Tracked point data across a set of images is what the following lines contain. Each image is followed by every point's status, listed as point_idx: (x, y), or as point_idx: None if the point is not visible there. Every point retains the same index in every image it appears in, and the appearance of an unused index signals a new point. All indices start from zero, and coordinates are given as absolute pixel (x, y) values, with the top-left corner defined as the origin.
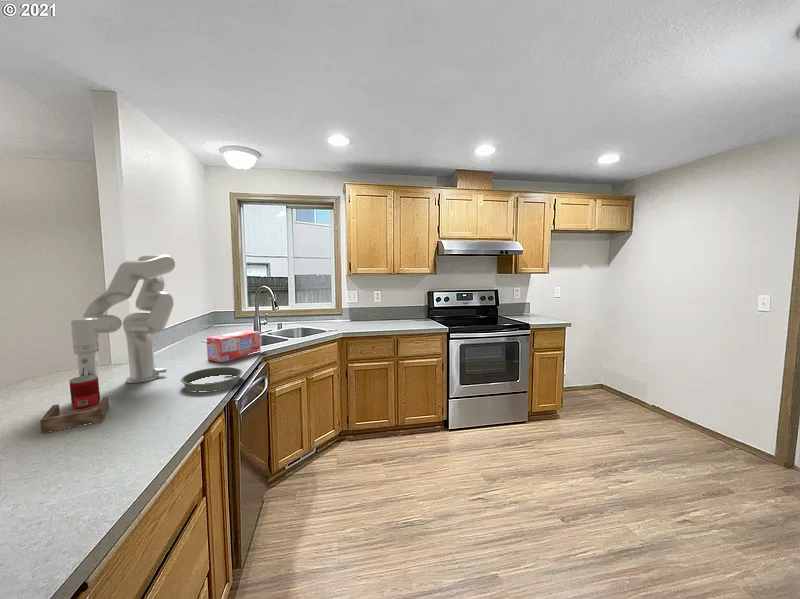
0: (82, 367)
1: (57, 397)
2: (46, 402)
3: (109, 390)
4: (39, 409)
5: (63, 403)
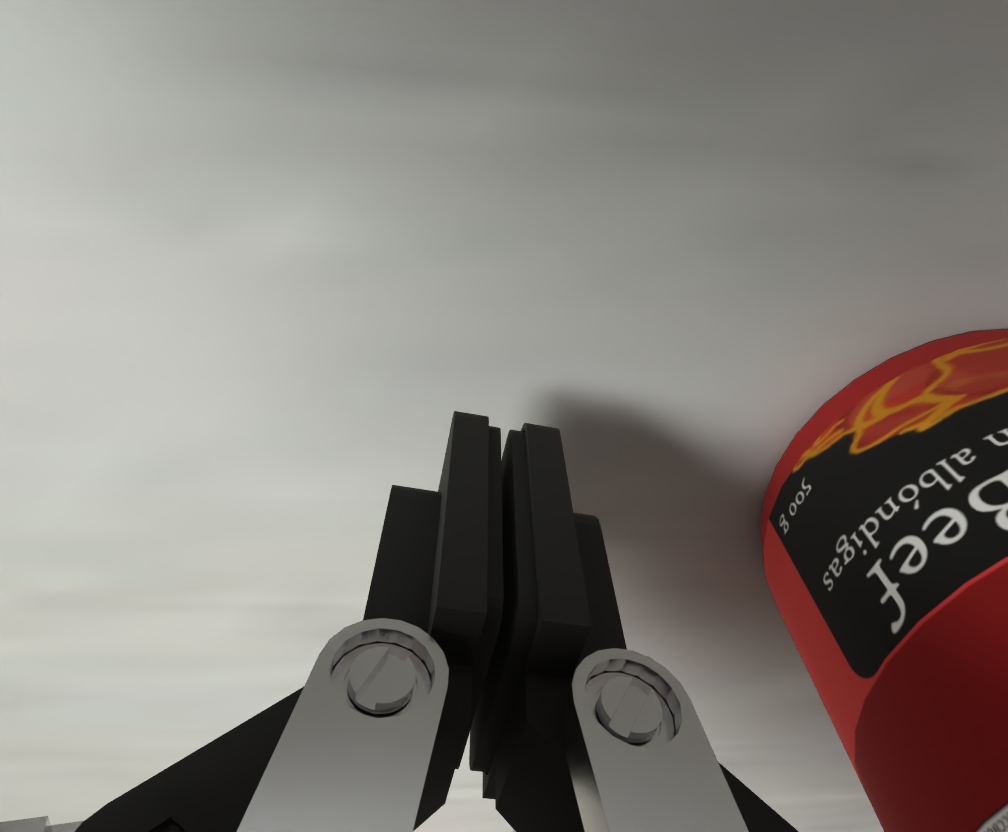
0: None
1: (103, 735)
2: None
3: (108, 53)
4: None
5: None
